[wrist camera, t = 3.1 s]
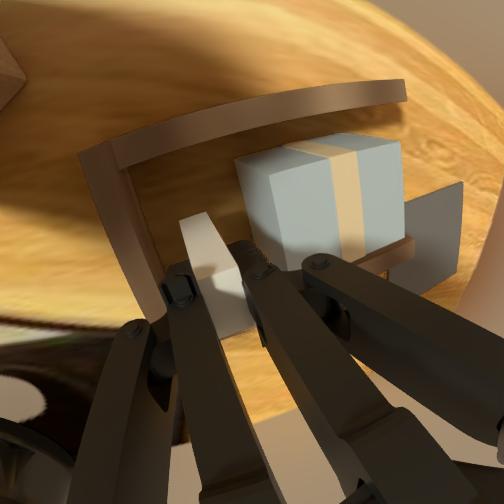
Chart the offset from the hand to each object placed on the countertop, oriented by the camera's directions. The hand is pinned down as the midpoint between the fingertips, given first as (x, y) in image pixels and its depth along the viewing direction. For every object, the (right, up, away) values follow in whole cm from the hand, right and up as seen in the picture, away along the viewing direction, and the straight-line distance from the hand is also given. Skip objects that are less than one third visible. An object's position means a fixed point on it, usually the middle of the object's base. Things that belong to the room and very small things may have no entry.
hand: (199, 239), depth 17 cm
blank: (+6, +4, +4) cm, 8 cm away
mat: (+20, 0, +11) cm, 23 cm away
